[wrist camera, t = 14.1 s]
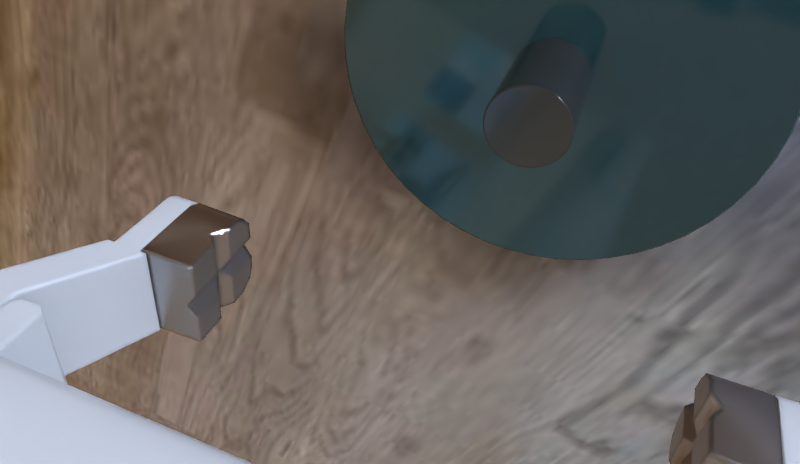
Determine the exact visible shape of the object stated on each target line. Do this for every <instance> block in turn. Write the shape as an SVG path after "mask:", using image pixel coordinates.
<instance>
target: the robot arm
mask: <svg viewBox="0 0 800 464" xmlns="http://www.w3.org/2000/svg"><path fill="white" fill-rule="evenodd" d="M249 239H250V228H249V223H248V222H247V221H245V220H244V219H242V218H239V217H236V216H233V215H230V214H228V213H225V212H222V211H219V210H217V209H214V208H211V207H208V206H206V205H203V204H200V203H195V202H193V201H190V200H187V199H185V198H182V197H179V196H177V195H176V196H172V197H168V198H167V199H165V200H164V201H163V202H162V203H161V204H159V205H158V206H157V207H156V208H155V209H153V210H152V211H151V212H150V213H149V214H147V215H146V216H145V217H144V218H143V219H141V220H140V221H139V222H138V223H137V224H135V225H134V226H133V227H132V228H131V229H129V230H128V231H127V232H126V233H125V234H123V235H122V236H121V237H120V238H119V239H117V240H116V241H115V242H113V241H110V240H105V241H101V242H97V243H94V244H90V245H87V246H83V247H79V248H76V249H72V250H69V251H65V252H61V253H58V254H54V255H51V256H47V257H43V258H40V259H36V260H33V261H29V262H25V263H22V264H18V265H15V266H11V267H7V268H4V269H0V464H253V463H251V462H248V461H246V460H244V459H241V458H239V457H236V456H234V455H232V454H229V453H227V452H225V451H222V450H220V449H218V448H215V447H213V446H211V445H208V444H206V443H204V442H201V441H199V440H197V439H194V438H192V437H189V436H187V435H185V434H182V433H180V432H178V431H175V430H173V429H171V428H168V427H166V426H164V425H161V424H159V423H157V422H154V421H152V420H150V419H147V418H145V417H142V416H140V415H138V414H135V413H133V412H131V411H128V410H126V409H124V408H121V407H119V406H117V405H114V404H112V403H110V402H107V401H105V400H103V399H100V398H98V397H95V396H93V395H91V394H88V393H86V392H84V391H81V390H79V389H77V388H74V387H72V386H70V385H68V383H67V381H66V378H65V376H66V375H68V374H70V373H72V372H74V371H76V370H79V369H81V368H83V367H85V366H87V365H89V364H91V363H93V362H95V361H97V360H99V359H101V358H103V357H106V356H108V355H110V354H112V353H114V352H116V351H118V350H120V349H122V348H124V347H126V346H128V345H130V344H133V343H135V342H137V341H139V340H141V339H143V338H145V337H147V336H149V335H151V334H153V333H155V332H158V331H160V328H162V329H165V330H168V331H171V332H174V333H176V334H179V335H182V336H185V337H188V338H191V339H193V340H196V341H199V342H201V341H202V340H203V339H204V338H205V336H206V335H207V334H208V333H209V332H210V331H211V329H212V328H213V327H214V326H215V325H216V324H217V323H218V321H219V320H220V319H221V307H223V306H226V305H229V304H231V303H234V302H235V301H236V300H237V299H238V298H239V297H240V295H241V294H242V293H243V292H244V289H245V287H246V285H247V283H248V281H249V279H250V274H251V269H252V256H251V254H250V253H249V251H248V250H247V248H246V247H245V245H244V244H245V243H246V242H247V241H248V240H249ZM669 462H670V464H800V403H798V402H795V401H792V400H789V399H786V398H783V397H780V396H776V395H772V394H769V393H766V392H763V391H760V390H757V389H754V388H751V387H748V386H745V385H742V384H738V383H735V382H732V381H729V380H726V379H723V378H720V377H717V376H714V375H711V374H708V373H706V374H705V375H704V376H703V377H702V378H701V380H700V381H699V383H698V385H697V386H696V388H695V400H694V403H692V404H689V405H686V406H685V407H684V409H683V411H682V412H681V414H680V416H679V418H678V420H677V423H676V426H675V429H674V432H673V435H672V439H671V445H670V452H669Z"/></svg>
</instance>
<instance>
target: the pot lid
mask: <svg viewBox="0 0 800 464" xmlns="http://www.w3.org/2000/svg"><path fill="white" fill-rule="evenodd" d="M345 56H346V63H347V70H348V78H349V82H350V86H351V89H352V93H353V97H354V101H355V104H356V107H357V109H358V112H359V114H360V117H361V119H362V122H363V125H364V127H365V129H366V131H367V133H368V134H369V136H370V138H371V140H372V142H373V144H374V146H375V148H376V149H377V151H378V152H379V154H380V155H381V157H382V158H383V159H384V161H385V162H386V164H387V165H388V167H389V168H390V169H391V171H392V172H393V173H394V174H395V175H396V176H397V178H398V179H399V180H400V181H401V182H402V184H403V185H404V186H405V187H406V188H407V189H408V190H409V191H410V192H411V193H412V194H414V195H415V196H416V197H417V198H418V199H419V200H420V201H421V202H422V203H423V204H424V205H426V206H427V207H428V208H430V209H431V210H432V211H434V212H435V213H436V214H437V215H439V216H440V217H441V218H443V219H445V220H446V221H448V222H450V223H451V224H453V225H454V226H456V227H458V228H459V229H461V230H463V231H465V232H467V233H469V234H471V235H473V236H475V237H477V238H479V239H481V240H483V241H486V242H489V243H491V244H494V245H497V246H500V247H503V248H505V249H508V250H512V251H516V252H520V253H524V254H528V255H533V256H540V257H547V258H554V259H574V260H587V259H602V258H612V257H617V256H623V255H629V254H635V253H638V252H641V251H645V250H648V249H652V248H655V247H659V246H662V245H664V244H666V243H669V242H671V241H674V240H676V239H678V238H681V237H683V236H686V235H688V234H689V233H691V232H693V231H695V230H696V229H698V228H700V227H702V226H704V225H705V224H707V223H709V222H711V221H712V220H713V219H715V218H716V217H718V216H719V215H720V214H722V213H723V212H724V211H726V210H727V209H729V208H730V207H731V206H733V205H734V204H735V203H736V202H737V201H738V200H739V199H740V198H742V197H743V196H744V195H745V194H746V193H747V192H748V191H749V190H750V189H751V188H752V187H753V186H754V185H755V184H756V183H757V182H758V181H759V180H760V178H761V177H762V176H763V175H764V174H765V172H766V171H767V170H768V169H769V167H770V166H771V165H772V164H773V163H774V161H775V160H776V158H777V157H778V155H779V153H780V152H781V150H782V149H783V147H784V145H785V144H786V142H787V141H788V139H789V137H790V136H791V134H792V132H793V129H794V127H795V125H796V122H797V120H798V118H799V116H800V0H348V1H347V10H346V19H345Z"/></svg>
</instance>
